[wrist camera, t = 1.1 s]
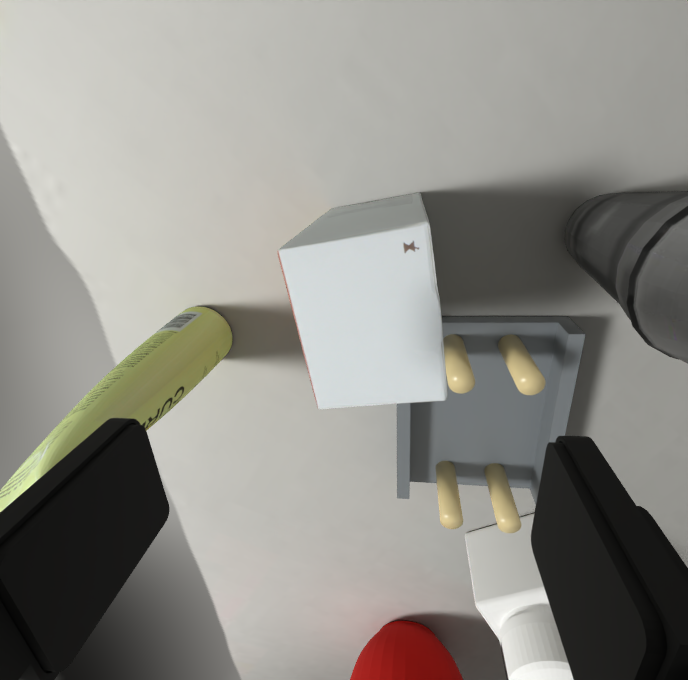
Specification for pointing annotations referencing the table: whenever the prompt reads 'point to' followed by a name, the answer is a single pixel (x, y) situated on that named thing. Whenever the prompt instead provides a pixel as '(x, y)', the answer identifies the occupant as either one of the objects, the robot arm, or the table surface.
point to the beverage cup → (639, 260)
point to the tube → (134, 389)
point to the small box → (368, 304)
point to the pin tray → (491, 411)
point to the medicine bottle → (516, 602)
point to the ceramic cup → (405, 655)
